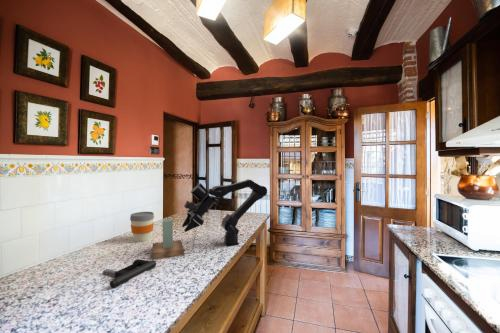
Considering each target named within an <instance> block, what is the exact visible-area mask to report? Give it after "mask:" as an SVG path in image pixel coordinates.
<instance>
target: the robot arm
mask: <svg viewBox="0 0 500 333" xmlns="http://www.w3.org/2000/svg"><path fill="white" fill-rule="evenodd" d="M248 188H249V189H250V190H252V191H251V193H250V195H249V196H248V198H246V199H245V201H244V202H243V203H241V204H240V206H238V208H237V209H236V210H235V211H234V212H233V213H232V214H229V213H227V214H226V215H225V216H224V217H223V218H222V221H221V227H222V228H223V229H224V231H225V233H224V236H223V237H224V240H223V243H224V244H225V245H226V246H227V247H231V246H235V245H237V246H238V245H240V243H239V238H238V236H239V232H240V230H239V229H238V228H237V226H238V222H239V221H240V219H241V218H242V217H243V216H244V215H245V214H246V212H248V211H249V209H250V208H251V207H252V206H253V205H254V204H255V203H256V202H257V201H260V200H261V199H263V198H264V197H265V196H266V195H267V194H268V189H267V187H266V186H264V185H260V184H259V183H257V182H256V181H255V182H254V180H252V179H245V180H242V181H238V182H235V183H231V184H227V185H215V186H212V188H208V189H207V188H206V187H204V185H203V184H202V183H198V184H197V185H196V186H195V187H193V189H192V190H190V193H191V194H192V196H194V197H195V198H196V199H197V200H201V202H197V203H195V202H193V201H188V200H186V201H185V203H184V208H185V209H187V211H186V218H185V219H184V221H183V223H182V225H181V226H182V228H184V227H185V228H184V229H183V231H184V233H186V232H189V231H191V230H192V229H195V228H197V227H200V226H203V225H204V223H205V220H204V216H205V214H206V213H209V210H210V209H211V208H212V206H214V204H216V205H217V206H219V204H220V203H219V198H221V199H222V198H223V197H224V196H226V195H228V194H230V193H233V192H236V191H239V190H240V191H241V190H242V189H248ZM215 197H216V198H217V199H216V198H215Z"/></svg>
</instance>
